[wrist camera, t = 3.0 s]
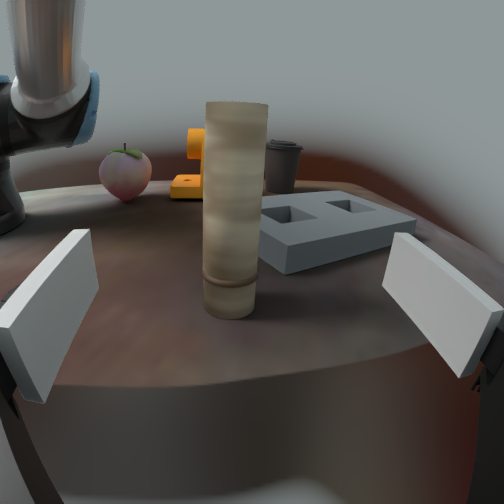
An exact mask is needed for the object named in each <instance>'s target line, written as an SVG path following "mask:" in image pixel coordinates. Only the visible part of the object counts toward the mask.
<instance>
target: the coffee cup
mask: <svg viewBox="0 0 504 504" xmlns="http://www.w3.org/2000/svg"><path fill="white" fill-rule="evenodd" d="M301 150H303V148H302V146H299V145H296V143H293V142H287V141H275V140H271V141H270V143H266V148H265V173H266V174H265V175H266V190H267V191H269V192H272V193H278V194H290V193H293V188H294V184H295V178H296V174H297V169H298V164H299V159H300V154H301Z"/></svg>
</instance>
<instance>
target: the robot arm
mask: <svg viewBox="0 0 504 504" xmlns="http://www.w3.org/2000/svg"><path fill="white" fill-rule="evenodd" d="M5 3H6V13H7V22H8V30H9V36H10V43H11V49H12V55H13V60H14V65H15V70H16V74H17V76H16V77H15V79H14V81H13V82H12V83H10V80H9V77H8V76H6V75H0V235H1V234H3V233H6V232H8V231H10V230H12V229H13V228H15V227H17V226H18V225H20V224H21V223H22V222H23V221H24V220H25V217H26V216H25V210H24V204H23V202H22V199H21V197H20V195H19V192H18V190H17V188H16V185H15V183H14V181H13V179H12V176H11V172H10V162H9V156H14V155H18V154H23V153H29V152H35V151H40V150H47V149H53V148H60V147H66V148H69V147H72V146H74V145H79V144H84V143H86V142H88V140H90V138H91V137H92V135H93V132H94V128H95V123H96V112H97V108H98V100H99V75H98V73H96V72H94V71H90V70H89V67H88V65H87V64H86V62H85V61H84V60H83V59H82V58H81V40H82V29H83V19H84V10H85V3H86V0H5ZM382 286H383V287H384V288H385V289H386V291H387V292H388V293H389V294H390V295H391V296H392V297H393V299H394V300H395V301H396V302H397V303H398V304H399V305H400V307H401V308H402V309H403V310H404V311H405V312H406V314H407V315H408V316H409V317H410V318H411V319H412V321H413V322H414V323H415V324H416V325H417V327H418V328H419V329H420V330H421V331H422V333H423V334H424V335H425V336H426V337H427V339H428V340H429V341H430V342H431V344H432V345H433V346H434V347H435V348H436V350H437V351H438V352H439V353H440V355H441V356H442V357H443V358H444V359H445V361H446V362H447V364H448V365H449V366H450V367H451V369H452V370H453V371H454V373H455V374H456V375H457V376H458V378H461V377H464V376H467V375H470V374H473V372H474V370H475V368H476V367H477V365H478V363H479V361H482V363H483V364H484V367H483V369H482V370H481V372H480V374H479V376H478V377H477V379H476V381H475V382H474V384H473V385H472V388H471V390H474V389H475V387H476V386H477V385H480V387H479V388H478V390H477V392H480V407H479V424H478V436H477V445H476V454H475V462H474V468H473V474H472V480H471V486H470V491H469V496H468V500H467V504H504V308H502V307H501V306H500V305H499V304H498V303H497V302H496V301H494V300H493V299H492V298H491V297H490V296H489V295H487V294H486V293H485V292H484V291H483V290H481V289H480V288H479V287H478V286H477V285H475V284H474V283H473V282H472V281H471V280H469V279H468V278H467V277H466V276H464V275H463V274H462V273H461V272H459V271H458V270H457V269H456V268H454V267H453V266H452V265H450V264H449V263H448V262H447V261H445V260H444V259H443V258H441V257H440V256H439V255H437V254H436V253H435V252H433V251H432V250H431V249H429V248H428V247H427V246H425V245H424V244H423V243H421V242H420V241H418V240H417V239H416V238H414V237H413V236H411V235H410V234H409V233H398V232H395V234H394V238H393V243H392V247H391V252H390V256H389V260H388V264H387V268H386V272H385V276H384V280H383V284H382ZM98 289H99V286H98V280H97V275H96V269H95V263H94V256H93V250H92V243H91V235H90V229H74V230H72V231H71V232H70V233H69V234H68V235H67V236H66V237H65V238H64V239H63V240H62V241H61V242H60V243H59V244H58V245H57V246H56V247H55V248H54V249H53V250H52V251H51V253H50V254H49V255H48V256H47V257H46V258H45V259H44V260H43V261H42V262H41V263H40V264H39V265H38V266H37V267H36V268H35V270H34V271H33V272H32V273H31V274H30V275H29V276H28V277H27V278H26V279H25V281H24V282H23V283H22V284H21V285H18V286H17V287H15V288H14V289H12V290H11V291H9V292H8V293H7V294H6V295H5V297H4V298H3V299H2V300H1V302H0V504H64V503H63V501H62V499H61V497H60V496H59V494H58V493H57V490H56V489H55V487H54V485H53V483H52V481H51V479H50V478H49V476H48V474H47V472H46V470H45V468H44V466H43V464H42V462H41V460H40V458H39V456H38V453H37V451H36V449H35V447H34V445H33V442H32V440H31V438H30V435H29V433H28V431H27V428H26V426H25V423H24V421H23V418H22V415H21V413H20V410H19V407H18V404H17V402H16V401H15V399H14V397H13V393H14V390H15V389H16V387H18V389H19V391H20V393H21V394H22V396H23V398H24V399H25V400H29V401H34V402H38V403H43V404H44V403H45V402H46V399H47V397H48V394H49V392H50V389H51V387H52V384H53V382H54V380H55V377H56V375H57V373H58V371H59V368H60V366H61V364H62V362H63V359H64V357H65V355H66V353H67V351H68V349H69V346H70V344H71V342H72V340H73V338H74V336H75V334H76V332H77V330H78V328H79V326H80V324H81V322H82V320H83V318H84V316H85V314H86V312H87V310H88V308H89V306H90V304H91V302H92V300H93V299H94V297H95V295H96V293H97V291H98Z"/></svg>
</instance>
